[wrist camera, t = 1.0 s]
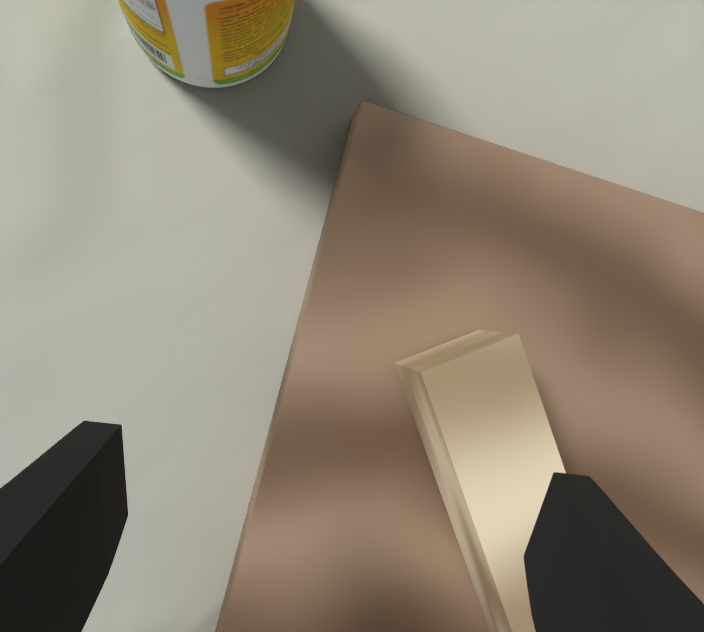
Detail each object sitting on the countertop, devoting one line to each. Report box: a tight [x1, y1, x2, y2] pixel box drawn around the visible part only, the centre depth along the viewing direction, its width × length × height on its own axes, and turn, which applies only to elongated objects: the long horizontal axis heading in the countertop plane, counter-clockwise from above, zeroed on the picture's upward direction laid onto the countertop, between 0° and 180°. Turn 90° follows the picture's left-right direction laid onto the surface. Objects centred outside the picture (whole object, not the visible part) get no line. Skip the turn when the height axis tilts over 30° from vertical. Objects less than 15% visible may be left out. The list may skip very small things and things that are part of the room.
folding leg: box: [395, 330, 566, 632], centre depth 19 cm, size 17×3×4 cm, turn 20°
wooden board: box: [215, 101, 704, 632], centre depth 21 cm, size 22×18×5 cm
